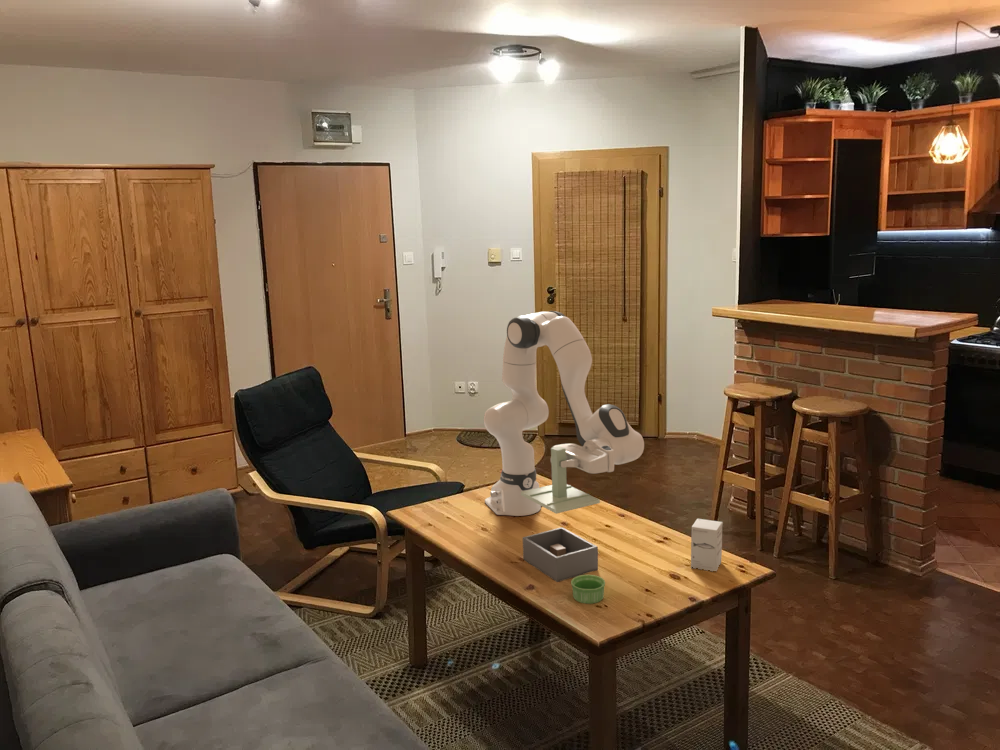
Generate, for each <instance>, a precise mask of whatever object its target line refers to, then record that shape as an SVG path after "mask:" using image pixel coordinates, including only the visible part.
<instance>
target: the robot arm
mask: <svg viewBox="0 0 1000 750" xmlns="http://www.w3.org/2000/svg"><path fill="white" fill-rule="evenodd" d="M544 346H547V347H548V349H549V351H550V353H551V356H552V357H553V359H554V361H555V363H556V366H557V370H558V373H559V377H560V384H561V389H562V392H563V395H564V397H565V400H566V403H567V405H568V409H569V411H570V413H571V416H572V419H573V422H574V425H575V431H576V432H575V433H576V439H577V441H578V443H579V444H577V443H573V442H572V443H561V444H555V445H553V446H552V447H551V448H554V447H559V446H560V447H563V448H565V449H566V460H560V461H559V466H560V467H562V468H564V467H566V468H576V469H579V470H581V471H583V472H586V473H588V474H592V475H593V474H601V473H606V472H607V473H612V472H614V471H615V465H617V466H618V465H619V466H620V465H624V464H628V463H630V462H633V461H636V460H637V459H639V458H640V457H641V456H642V454H643V453H644V449H645V441H644V438H643V436H642V434H641V433H640V432H638V431H637V430H635V429H634V428H632V426H631V425H630V424H629V422H628V420H627V418H626V415H625V413H624V412H623V410H622V409H621V408H620V407H618V406H617V405H615V404H610V403H607V404H603V405H601V406H600V407H599V408H597V409H596V410H595V412H593V411H592V409H591V407H590V405H589V401H588V399H587V397H586V393H585V392H586V391H585V386H586V381H587V378H588V375H589V373H590V371H591V367H592V364H593V356H592V352H591V350H590V346H588V344H587V342H586V340H585V338H584V336H583V335H582V333H581V332H580V330H579V328H578V327H577V325H576V324H575V323H574V322H573V321H572V319H571V318H569V317H568V316H566V315H565V314H563V312H560V311H556V310H550V311H537V312H533V313H532V312H531V313H529V314H525V315H518V316H516V317H514V318H513V317H512V319H510V320H509V322H508V323H507V326H506V338H505V342H504V347H503V357H502V379H501V381H502V384H503V385H504V386H505V387H506V388H507V389H508V390H509V391H510V390H511V394H512V397H511V398H512V399H511V400H508V401H504V402H499V403H497V404H495V405H493V406H491V407H489V408H487V409H486V411H484V416H483V423H484V424H483V425H484V427H485V429H486V431H487V432H488V433H489V434H490V435H492V436H494V438H495V439H496V440H497V442H498V445H499V448H500V451H501V452H500V453H501V459H502V460H501V464H502V469H500V472H499V474H500V478H499V480H498V481H497V482H496V483H494V484H493V485H492V486H491V489H490V490H491V491H490V493H489V495H490V496H489V497H486V498H485V499H484V503H485V504H486V505H487V507H489V508H490V509H491V511H492V512H493V513H494V514H495V515H497V516H512V517H514V516H515V517H519V516H521V517H523V516H530V515H533V514H535V513H539V512H540V510H542V509H541V508H542V506H541V505H539V504H537V503H535V502H533V501H531V500H529V499H528V498H526V497H524V496H522V495H521V492H522V491H527V490H531V489H536V488H540V484H539V482H538V481H537V470H536V468H535V450H534V447H533V445H531V444H530V443H529V442H527V441H525V440H524V436H523V432H524V431H526V430H529V429H533V428H534V429H535V428H537V427H538V426H540V425H542V424H543V423H545V422H546V421H547V420H548V418H549V415H550V414H549V413H550V411H549V406H548V403H547V401H546V400H545V399H543V398H542V397H541V395H539V392H538V389H537V385H536V370H537V368H536V366H537V365H536V364H537V350H538V348H540V347H544Z"/></svg>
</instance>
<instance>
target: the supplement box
mask: <svg viewBox="0 0 1000 750" xmlns="http://www.w3.org/2000/svg"><path fill="white" fill-rule="evenodd" d="M690 539H691V540H690V541H691V545H690V546H691V547H690V549H691V550H690V568H691V569H696V568H698V569H697V570H702V569H704V570H703V571H708V570H710V571H709V572H713V571H716V572H717V571H718V570H719V568H720V566H721V563H722V554H723V521H717V520H710V519H705V518H703V519H702V518H696V520H695V521H694V523H693V524H692V525H691V538H690ZM719 565H720V566H719ZM692 567H693V568H692ZM718 567H719V568H718Z"/></svg>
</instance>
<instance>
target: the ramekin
mask: <svg viewBox="0 0 1000 750" xmlns="http://www.w3.org/2000/svg"><path fill="white" fill-rule="evenodd" d="M570 581H571V582H570V584H571V588H572V597H573V598H574V600H575V601H577V602H579V603H581V604H586V605H588V604H590V605H591V604H597V603H599V602H602V600H603V599H604V597H605V596H604V595H605V586H606V581H605V579H604V578H603V577H601V576H598V575H596V574H582V575H579V576H576V577H572V578H571V580H570Z"/></svg>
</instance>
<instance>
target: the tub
mask: <svg viewBox="0 0 1000 750" xmlns="http://www.w3.org/2000/svg"><path fill="white" fill-rule="evenodd" d="M598 550H599V549H598V546H597V545H595V544H594V543H592V542H590V541H588V540H587V539H585V538H583V537H581V536H579V535H577V534H576V533H573V532H572V531H570V530H568V529H566V528H565V527H563V526H562V527H558V528H553V529H550V530H546V531H541V532H538V533H535V534H530V535H527V536H523V537H522V556H523V557H522V559H523V561H525V562H526V563H527V564H529V565H531V566H532V567H534V568H535V569H536V570H538V571H540V572H541V573H543V574H544V575H546V576H547V577H549V578H550V579H552V580H554V581H555V582H556V583H558V582H562V581H565V580H569V579H573V578H575V577H577V576H580V575H587V574H588V573H591V572H595V571H598V570H599V555H598V554H599V553H598V552H599V551H598Z"/></svg>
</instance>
